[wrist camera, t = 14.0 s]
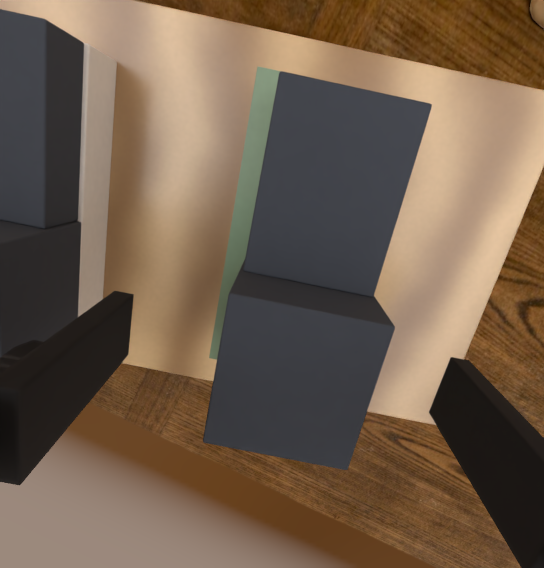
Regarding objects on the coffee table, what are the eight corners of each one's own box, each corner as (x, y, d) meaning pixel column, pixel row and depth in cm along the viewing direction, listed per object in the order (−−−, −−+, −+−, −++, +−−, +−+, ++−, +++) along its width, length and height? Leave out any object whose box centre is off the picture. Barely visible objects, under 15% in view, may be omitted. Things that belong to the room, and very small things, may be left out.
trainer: (326, 366, 21) (347, 471, 14) (231, 347, 21) (202, 443, 13) (396, 122, 17) (477, 88, 10) (278, 96, 17) (272, 43, 9)
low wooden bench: (43, 276, 30) (-69, 326, 21) (44, 30, 25) (-107, -55, 15) (391, 346, 31) (437, 426, 22) (467, 122, 26) (574, 95, 16)
